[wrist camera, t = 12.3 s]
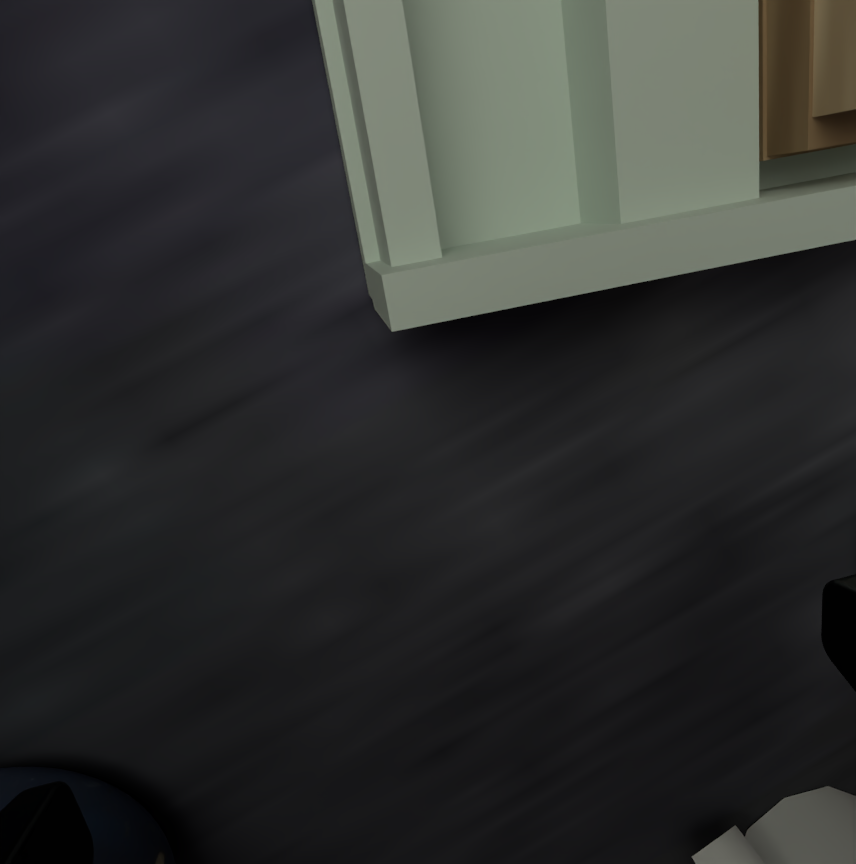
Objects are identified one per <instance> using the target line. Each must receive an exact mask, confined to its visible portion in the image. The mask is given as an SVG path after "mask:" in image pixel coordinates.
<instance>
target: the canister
mask: <svg viewBox="0 0 856 864" xmlns="http://www.w3.org/2000/svg"><path fill="white" fill-rule="evenodd" d="M56 781H61V782H65V783H66V784H67V785H68V786H69V787H70V789H71V790H72V792H73V794H74V797H75V799H76V801H77V803H78V806H79V808H80V810H81V812H82V815H83V817H84V819H85V821H86V823H87V826H88V828H89V830H90V833H91V836H92V840H93V847H94V857H93V864H175V860H174V856H173V853H172V850H171V847H170V845H169V843H168V840H167V838H166V836H165V834H164V833H163V831H162V829H161V828H160V826H159V825H158V823H157V822H156V820H155V819H154V818H153V817H152V815H151V814H150V813H149V812H148V811H147V810H146V809H145V808H144V807H143V806H142V805H141V804H139V803H138V802H137V801H136V800H134V799H133V798H132V797H131V796H129V795H128V794H126V793H124V792H123V791H121V790H119V789H118V788H116V787H115V786H113V785H110V784H108V783H106V782H103V781H101V780H99V779H97V778H93V777H90V776H87V775H84V774H81V773H78V772H73V771H68V770H63V769H57V768H46V767H8V768H0V811H1V810H2V809H3V808H4V807H5V806H6V805H7V804H8V803H10V802H11V801H12V800H13V799H14V798H15V797H16V796H17V795H18V794H19V793H21V792H22V791H24V790H26V789H29V788H33V787H37V786H40V785H44V784H48V783H52V782H56Z"/></svg>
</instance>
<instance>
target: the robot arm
mask: <svg viewBox="0 0 856 864" xmlns="http://www.w3.org/2000/svg"><path fill="white" fill-rule="evenodd" d="M821 636H822V642H823V646H824V649H825V651H826V653H827V655H828V657H829V658H830V660H831V661H832V662H833V664H834V665H835V666H836V667H837V669H838V670H839V671H840V672H841V674H842V675H843V676H844V677H845V679H846V680H847V681H848V683H849V684H850V685H851V686H852V688H853V689H854V690H855V691H856V574H855V575H851V576H847V577H843V578H839V579H835V580H832V581H830V582H828V583H827V584H826V585H825V587H824V589H823V598H822V633H821ZM93 857H94V847H93V840H92V836H91V833H90V830H89V828H88V826H87V823H86V821H85V819H84V817H83V815H82V812H81V810H80V808H79V806H78V803H77V801H76V799H75V797H74V794H73V792H72V790H71V789H70V787H69V786H68V785H67V784H66V783H65V782H61V781H56V782H52V783H48V784H44V785H40V786H37V787H33V788H29V789H26V790H24V791H22V792H21V793H19V794H18V795H17V796H16V797H15V798H14V799H13V800H12V801H11V802H10V803H8V804H7V805H6V806H5V807H4V808H3V809H2V810H1V811H0V864H93Z"/></svg>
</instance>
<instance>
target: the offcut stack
mask: <svg viewBox="0 0 856 864" xmlns="http://www.w3.org/2000/svg"><path fill="white" fill-rule="evenodd" d="M758 27H759V161H765V160H771V159H776V158H782V157H787V156H793V155H798V154H804V153H809V152H815V151H820V150H826V149H831V148H837V147H842V146H848V145H853V144H856V0H758Z"/></svg>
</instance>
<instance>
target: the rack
mask: <svg viewBox="0 0 856 864" xmlns="http://www.w3.org/2000/svg"><path fill="white" fill-rule="evenodd" d="M312 4H313V9H314V14H315V19H316V24H317V29H318V34H319V40H320V45H321V50H322V55H323V60H324V65H325V70H326V76H327V81H328V86H329V91H330V96H331V101H332V107H333V112H334V117H335V122H336V127H337V132H338V137H339V143H340V148H341V153H342V158H343V163H344V168H345V173H346V179H347V184H348V189H349V194H350V199H351V204H352V210H353V215H354V220H355V225H356V230H357V235H358V240H359V246H360V251H361V256H362V261H363V266H364V271H365V276H366V282H367V287H368V292H369V296H370V297H371V298H372V300H373V305H374V309H375V310H376V311H377V313H378V314H379V315H380V317H381V318H382V319H383V321H384V322H385V323H386V325H387V326H388V327H389V329H390V330H391V331H392V332H393V331H398V330H404V329H409V328H414V327H419V326H424V325H429V324H434V323H439V322H444V321H449V320H454V319H459V318H464V317H469V316H474V315H479V314H484V313H489V312H494V311H499V310H504V309H509V308H514V307H519V306H524V305H529V304H534V303H539V302H544V301H549V300H554V299H559V298H565V297H570V296H575V295H580V294H585V293H590V292H595V291H600V290H605V289H610V288H615V287H620V286H625V285H630V284H635V283H640V282H645V281H650V280H655V279H660V278H665V277H670V276H675V275H680V274H685V273H690V272H695V271H700V270H705V269H710V268H715V267H720V266H726V265H731V264H736V263H741V262H746V261H751V260H756V259H761V258H766V257H771V256H776V255H781V254H786V253H791V252H796V251H801V250H806V249H811V248H816V247H821V246H826V245H831V244H836V243H841V242H846V241H851V240H856V144H853V145H848V146H842V147H837V148H831V149H826V150H820V151H815V152H809V153H804V154H798V155H793V156H787V157H782V158H776V159H771V160H765V161H759V27H758V0H312Z"/></svg>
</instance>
